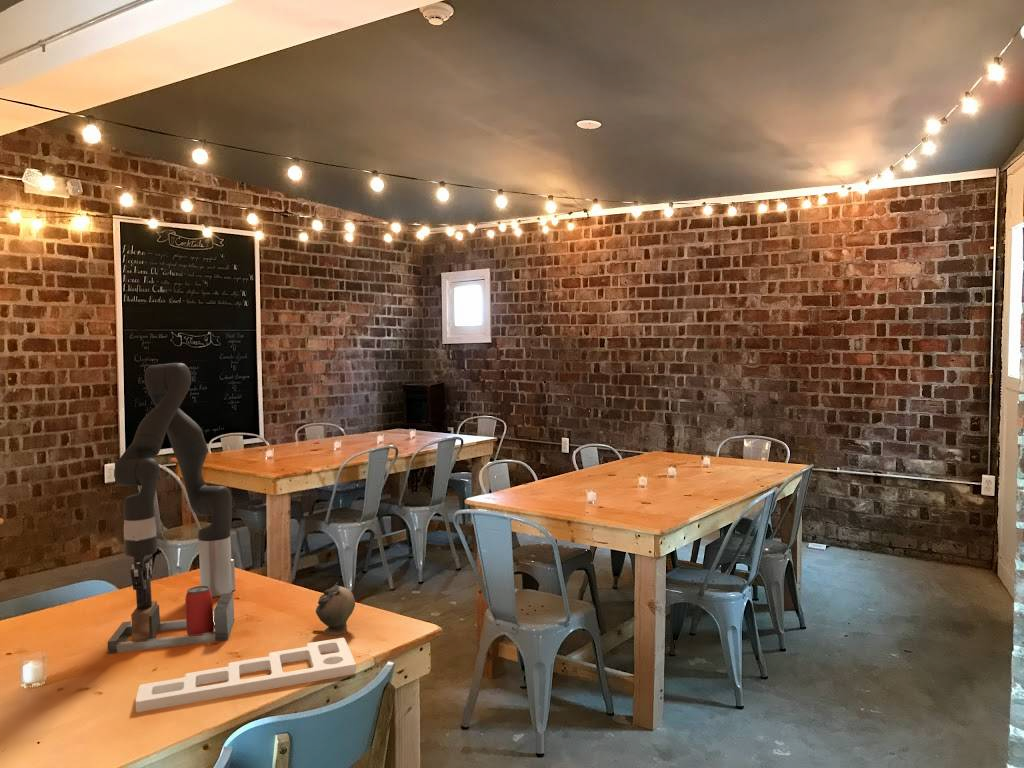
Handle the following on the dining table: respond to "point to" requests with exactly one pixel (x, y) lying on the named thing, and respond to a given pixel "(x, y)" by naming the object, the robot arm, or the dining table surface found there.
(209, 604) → the beer can
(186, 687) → the holder
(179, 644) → the frame
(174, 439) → the robot arm
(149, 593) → the sliding jaw
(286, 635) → the dining table surface
